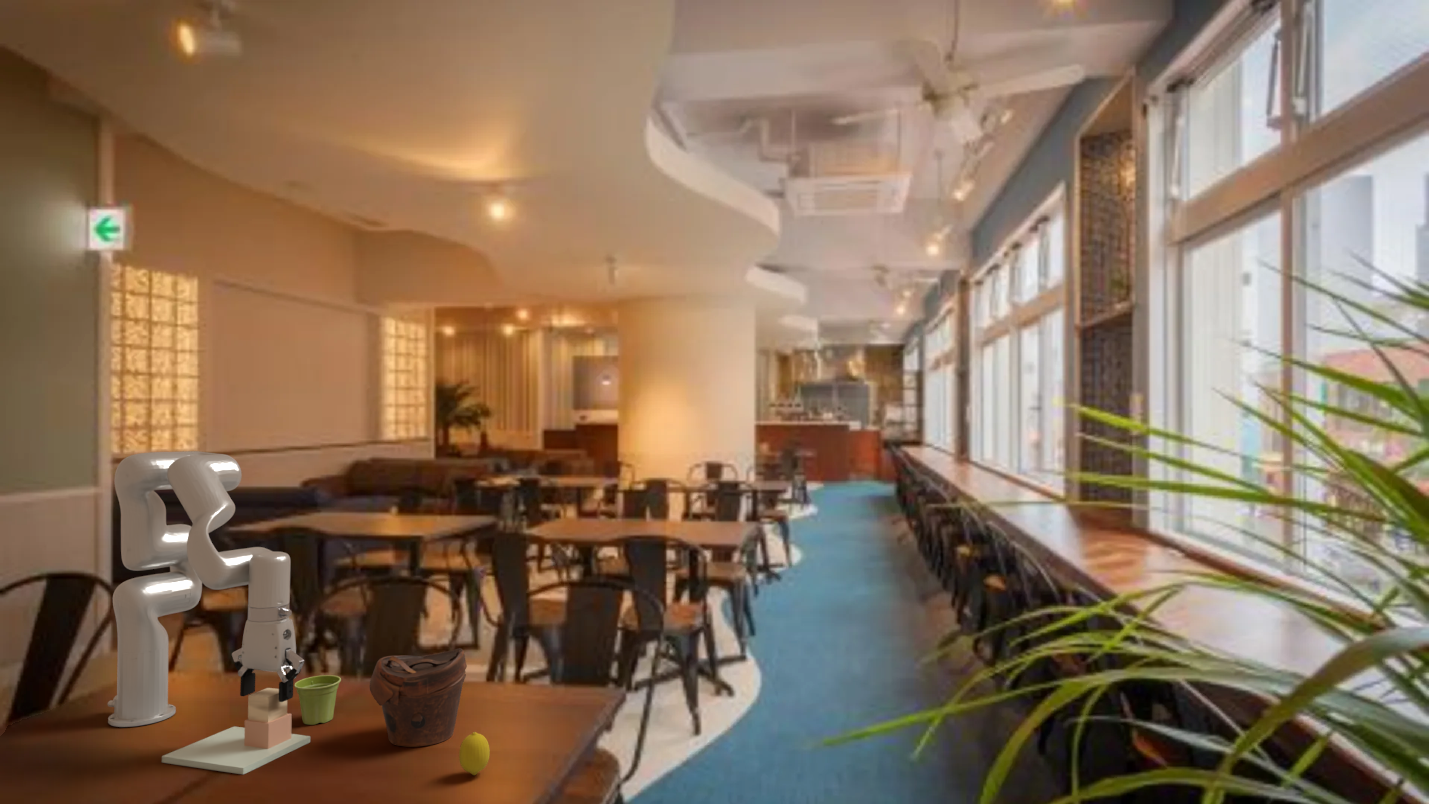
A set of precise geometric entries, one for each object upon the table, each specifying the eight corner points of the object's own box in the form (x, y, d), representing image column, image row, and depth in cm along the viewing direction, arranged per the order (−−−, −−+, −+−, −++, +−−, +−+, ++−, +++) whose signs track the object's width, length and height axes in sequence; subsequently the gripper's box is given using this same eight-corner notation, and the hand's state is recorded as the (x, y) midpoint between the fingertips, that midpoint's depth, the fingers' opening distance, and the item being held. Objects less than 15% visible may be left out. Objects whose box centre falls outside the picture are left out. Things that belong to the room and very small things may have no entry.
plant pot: (322, 729, 184) (323, 689, 185) (284, 726, 186) (284, 686, 187) (349, 714, 194) (349, 676, 194) (312, 712, 195) (313, 674, 196)
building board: (161, 762, 167) (161, 756, 167) (234, 732, 183) (234, 726, 183) (243, 774, 161) (243, 768, 161) (310, 742, 177) (310, 736, 177)
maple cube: (267, 711, 177) (267, 687, 177) (287, 714, 176) (287, 689, 176) (248, 720, 173) (248, 695, 173) (268, 722, 171) (268, 697, 171)
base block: (244, 745, 172) (244, 720, 172) (268, 735, 178) (268, 710, 178) (268, 748, 170) (268, 723, 170) (291, 738, 176) (291, 713, 176)
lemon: (462, 769, 163) (462, 727, 163) (491, 768, 163) (492, 726, 164) (456, 781, 157) (456, 738, 158) (486, 780, 158) (486, 737, 158)
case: (353, 738, 179) (355, 652, 179) (440, 715, 193) (442, 635, 194) (393, 763, 167) (395, 671, 167) (483, 736, 181) (485, 651, 182)
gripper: (316, 613, 176) (314, 696, 176) (250, 605, 181) (247, 686, 181) (288, 621, 169) (286, 708, 168) (220, 613, 174) (217, 698, 173)
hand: (266, 697), depth 175 cm, fingers open, 9 cm apart
